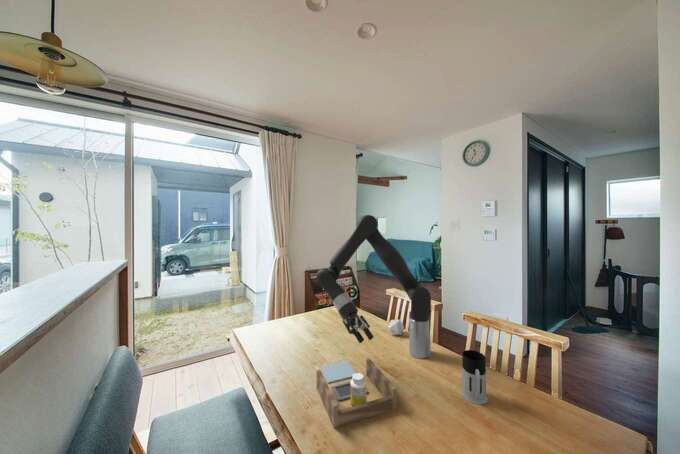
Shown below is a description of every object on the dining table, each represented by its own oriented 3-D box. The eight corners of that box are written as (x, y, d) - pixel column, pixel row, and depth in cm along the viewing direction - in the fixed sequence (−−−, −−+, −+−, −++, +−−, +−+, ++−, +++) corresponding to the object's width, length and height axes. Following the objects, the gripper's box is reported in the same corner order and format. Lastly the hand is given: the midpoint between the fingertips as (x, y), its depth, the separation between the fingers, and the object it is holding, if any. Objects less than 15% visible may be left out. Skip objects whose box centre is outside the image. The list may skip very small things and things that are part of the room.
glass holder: (484, 390, 95) (484, 351, 95) (494, 418, 82) (494, 372, 81) (459, 385, 98) (459, 347, 97) (464, 412, 84) (464, 368, 84)
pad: (319, 367, 112) (319, 366, 112) (347, 361, 116) (347, 360, 116) (328, 383, 101) (328, 382, 100) (357, 375, 105) (357, 374, 105)
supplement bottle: (356, 396, 93) (356, 369, 92) (369, 403, 89) (369, 375, 89) (347, 405, 88) (346, 376, 88) (360, 413, 85) (359, 383, 85)
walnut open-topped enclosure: (316, 388, 98) (316, 370, 98) (369, 374, 106) (369, 358, 106) (333, 428, 79) (333, 406, 78) (396, 408, 87) (396, 388, 86)
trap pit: (331, 387, 98) (331, 386, 98) (359, 380, 102) (359, 379, 102) (338, 401, 90) (338, 399, 90) (368, 393, 95) (368, 391, 95)
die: (400, 340, 137) (408, 323, 140) (386, 331, 139) (394, 315, 141) (397, 338, 145) (404, 323, 148) (384, 330, 146) (391, 315, 149)
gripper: (342, 301, 102) (365, 336, 94) (358, 300, 114) (381, 332, 105) (330, 313, 104) (352, 349, 95) (347, 311, 116) (368, 343, 107)
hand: (367, 340), depth 100 cm, fingers open, 8 cm apart
